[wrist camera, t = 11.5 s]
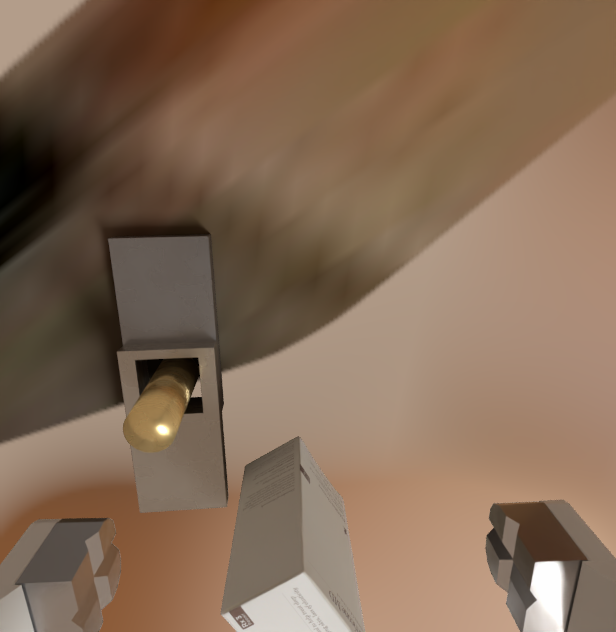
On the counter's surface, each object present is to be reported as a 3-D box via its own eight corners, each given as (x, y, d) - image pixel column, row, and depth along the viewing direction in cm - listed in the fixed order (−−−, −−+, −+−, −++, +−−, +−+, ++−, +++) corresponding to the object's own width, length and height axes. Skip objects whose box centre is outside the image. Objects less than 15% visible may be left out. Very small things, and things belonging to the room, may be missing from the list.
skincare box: (343, 497, 41) (382, 664, 27) (287, 529, 41) (295, 709, 27) (295, 429, 38) (309, 572, 24) (237, 463, 39) (216, 623, 25)
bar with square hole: (210, 234, 33) (205, 238, 31) (229, 485, 39) (226, 507, 37) (114, 236, 33) (100, 241, 30) (149, 490, 39) (140, 512, 36)
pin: (197, 352, 36) (173, 405, 27) (200, 388, 37) (178, 451, 28) (156, 354, 36) (119, 408, 27) (160, 390, 37) (126, 454, 28)
